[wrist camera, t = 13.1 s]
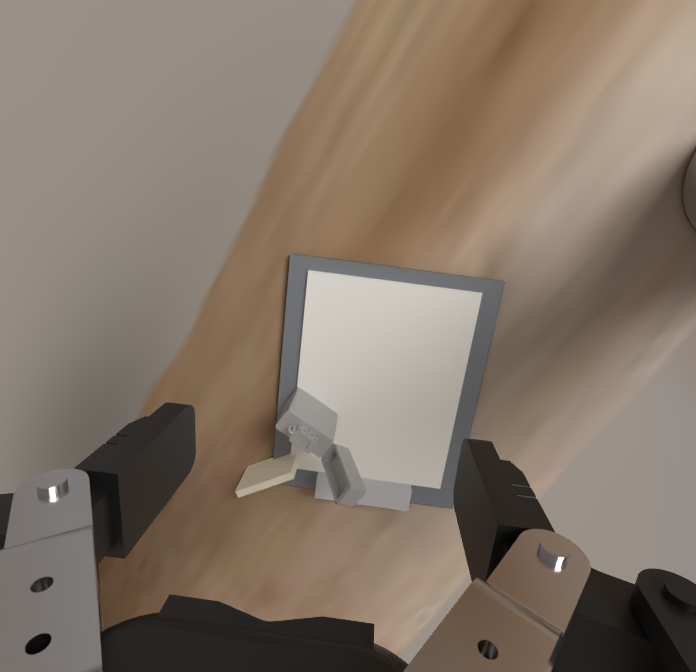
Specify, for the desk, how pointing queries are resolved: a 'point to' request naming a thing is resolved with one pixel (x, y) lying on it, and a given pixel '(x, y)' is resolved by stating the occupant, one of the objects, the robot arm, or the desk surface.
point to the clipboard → (387, 371)
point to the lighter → (322, 444)
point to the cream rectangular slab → (267, 474)
